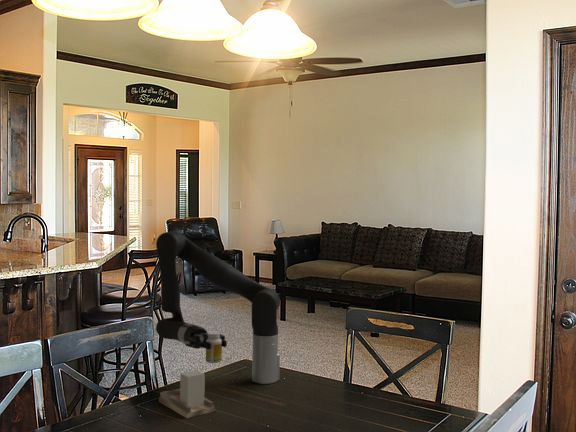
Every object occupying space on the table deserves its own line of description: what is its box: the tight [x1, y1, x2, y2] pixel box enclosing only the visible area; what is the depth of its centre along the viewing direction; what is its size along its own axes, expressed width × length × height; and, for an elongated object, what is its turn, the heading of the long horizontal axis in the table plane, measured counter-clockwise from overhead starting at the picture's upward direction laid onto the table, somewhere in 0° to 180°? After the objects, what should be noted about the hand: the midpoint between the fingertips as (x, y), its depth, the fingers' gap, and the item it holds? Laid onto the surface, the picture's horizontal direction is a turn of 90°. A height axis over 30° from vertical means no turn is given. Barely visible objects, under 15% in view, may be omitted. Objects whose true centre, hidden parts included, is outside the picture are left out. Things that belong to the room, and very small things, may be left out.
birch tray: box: [158, 388, 216, 419], centre depth 197 cm, size 10×18×3 cm, turn 39°
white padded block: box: [179, 370, 206, 408], centre depth 194 cm, size 6×5×10 cm
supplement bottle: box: [205, 331, 223, 364], centre depth 208 cm, size 5×5×10 cm
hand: (217, 345), depth 206 cm, fingers closed on supplement bottle, 5 cm apart
